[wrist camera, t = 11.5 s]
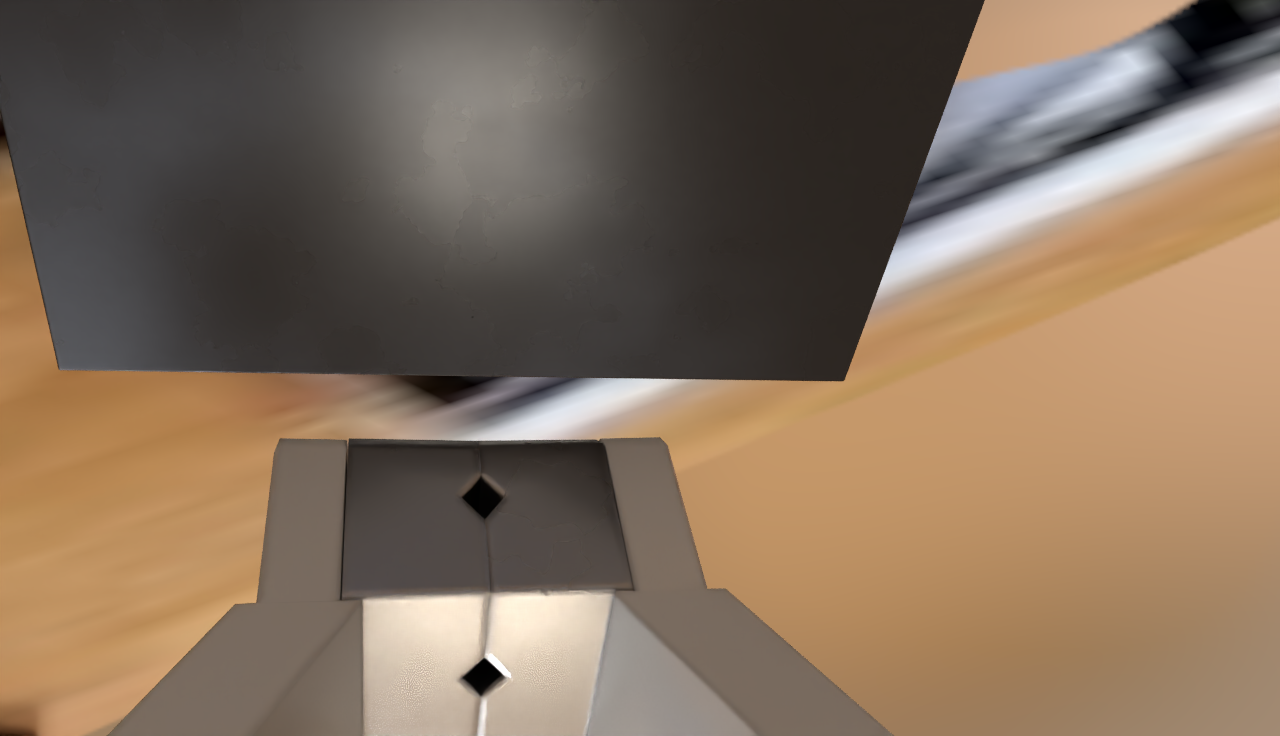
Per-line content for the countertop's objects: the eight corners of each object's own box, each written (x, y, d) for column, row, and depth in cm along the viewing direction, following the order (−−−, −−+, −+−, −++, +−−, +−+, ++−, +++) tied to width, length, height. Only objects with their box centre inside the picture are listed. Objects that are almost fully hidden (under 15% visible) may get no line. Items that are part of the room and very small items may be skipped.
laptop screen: (-89, -362, 19) (-107, -350, 18) (1038, -208, 23) (1056, -193, 22) (65, 346, 28) (58, 371, 28) (835, 360, 33) (844, 382, 32)
